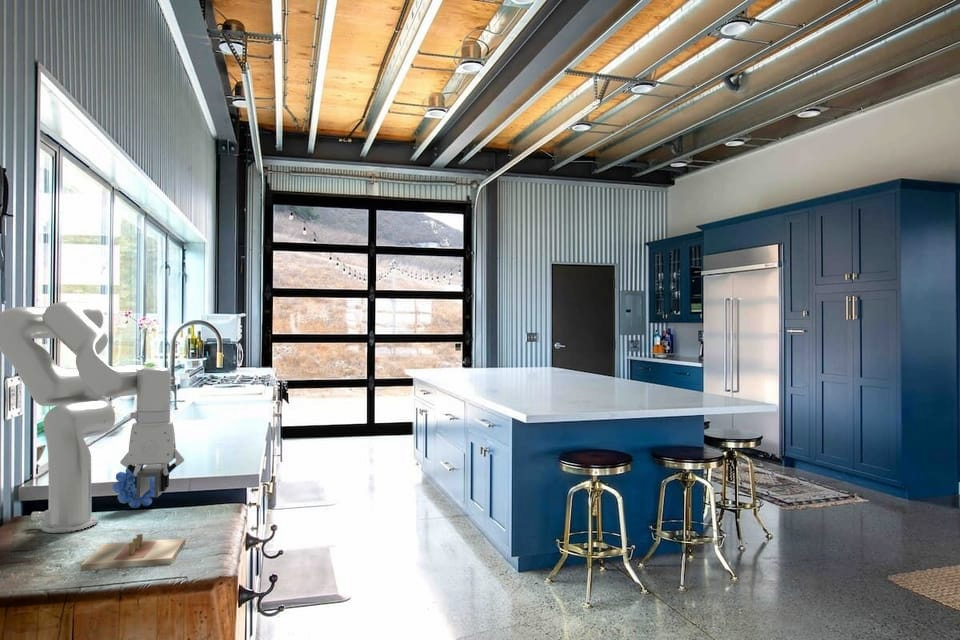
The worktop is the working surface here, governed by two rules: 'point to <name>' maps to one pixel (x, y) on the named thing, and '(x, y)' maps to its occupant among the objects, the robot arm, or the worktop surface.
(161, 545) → the pin board
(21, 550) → the worktop surface
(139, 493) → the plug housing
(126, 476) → the blue flower
